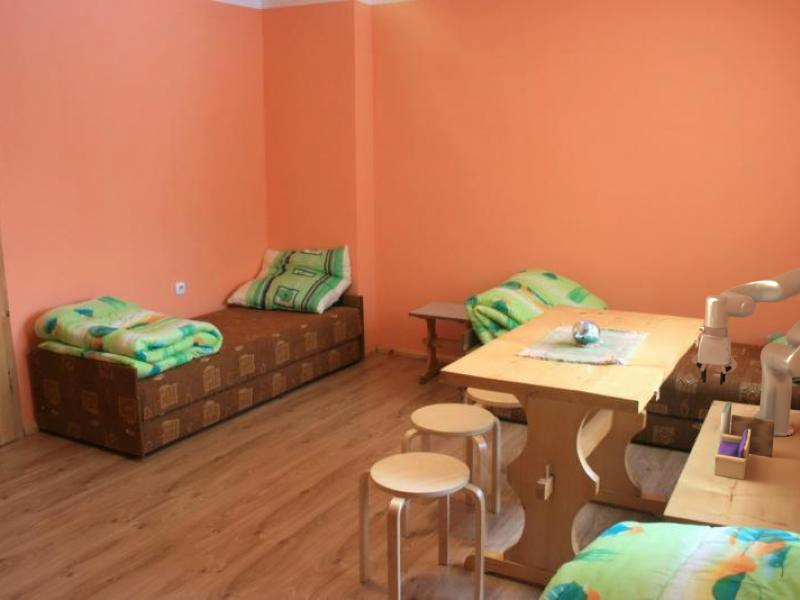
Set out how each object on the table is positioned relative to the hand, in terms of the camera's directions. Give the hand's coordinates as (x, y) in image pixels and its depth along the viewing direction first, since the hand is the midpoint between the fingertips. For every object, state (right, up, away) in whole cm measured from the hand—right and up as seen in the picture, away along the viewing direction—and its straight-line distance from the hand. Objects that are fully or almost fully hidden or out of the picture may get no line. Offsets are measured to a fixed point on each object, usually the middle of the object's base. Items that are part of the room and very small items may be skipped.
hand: (712, 382), depth 247 cm
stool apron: (+7, -22, -13) cm, 26 cm away
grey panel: (+4, -19, 0) cm, 20 cm away
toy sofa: (-4, -24, -22) cm, 33 cm away
